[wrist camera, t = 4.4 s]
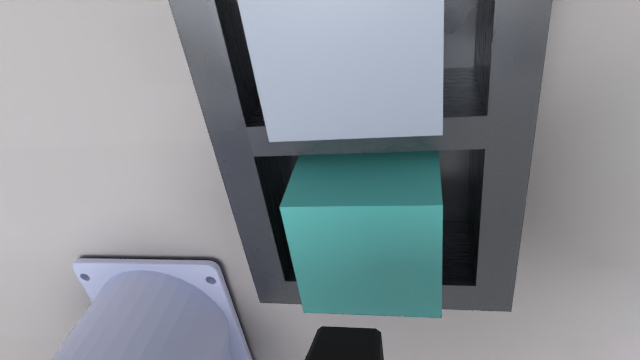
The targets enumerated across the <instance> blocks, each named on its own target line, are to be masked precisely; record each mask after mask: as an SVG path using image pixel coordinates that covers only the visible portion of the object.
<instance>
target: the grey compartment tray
mask: <svg viewBox="0 0 640 360" xmlns="http://www.w3.org/2000/svg"><path fill="white" fill-rule="evenodd" d="M168 1H169V4H170V7H171V10H172V14H173V17H174V20H175V24H176V27H177V30H178V34H179V37H180V40H181V43H182V47H183V50H184V53H185V57H186V60H187V63H188V67H189V70H190V73H191V76H192V80H193V83H194V86H195V90H196V93H197V96H198V100H199V103H200V106H201V109H202V113H203V116H204V119H205V123H206V126H207V129H208V133H209V136H210V139H211V142H212V146H213V149H214V152H215V156H216V159H217V162H218V165H219V169H220V172H221V175H222V179H223V182H224V185H225V189H226V192H227V195H228V198H229V202H230V205H231V208H232V212H233V215H234V218H235V222H236V225H237V228H238V231H239V235H240V238H241V241H242V245H243V248H244V251H245V255H246V258H247V261H248V264H249V268H250V271H251V274H252V278H253V281H254V284H255V287H256V291H257V294H258V297H259V301H260V303H282V304H302V302H301V298H300V293H299V289H298V285H297V281H296V276H295V272H294V268H293V263H292V259H291V255H290V250H289V246H288V242H287V237H286V233H285V229H284V224H283V220H282V216H281V211H280V204H281V202H282V199H283V196H284V193H285V191H286V188H287V185H288V183H289V180H290V177H291V175H292V172H293V169H294V167H295V164H296V161H297V159H298V156H299V155H319V154H350V153H380V152H410V151H438V152H439V164H440V177H441V189H442V201H443V239H442V309H453V310H481V311H509V312H511V309H512V302H513V294H514V287H515V279H516V271H517V264H518V256H519V249H520V241H521V234H522V226H523V218H524V211H525V203H526V196H527V188H528V180H529V173H530V165H531V158H532V150H533V143H534V135H535V127H536V120H537V112H538V105H539V97H540V89H541V82H542V74H543V67H544V59H545V52H546V44H547V36H548V29H549V21H550V14H551V6H552V0H444V57H443V135H435V136H410V137H384V138H359V139H334V140H309V141H283V142H269V139H268V134H267V130H266V126H265V121H264V117H263V112H262V108H261V103H260V99H259V95H258V90H257V86H256V81H255V77H254V72H253V68H252V63H251V59H250V55H249V50H248V46H247V41H246V37H245V32H244V28H243V23H242V19H241V15H240V10H239V6H238V1H237V0H168Z"/></svg>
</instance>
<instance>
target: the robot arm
mask: <svg viewBox="0 0 640 360" xmlns="http://www.w3.org/2000/svg"><path fill="white" fill-rule="evenodd" d="M72 268H73V270H74V272H75V274H76V275H77V277H78V279H79V280H80V282H81V284H82V286H83V287H84V289H85V291H86V292H87V294H88V296H89V297H90V299H91V301H92V303H91V304H90V305H89V307H88V308H87V310H86V311H85V312H84V314H83V315H82V317H81V318H80V319H79V321H78V322H77V324H76V325H75V327H74V328H73V329H72V331H71V332H70V334H69V335H68V336H67V338H66V339H65V341H64V342H63V343H62V345H61V346H60V348H59V349H58V350H57V352H56V353H55V355H54V356H53V358H52V359H51V360H252V357H251V354H250V351H249V349H248V346H247V343H246V340H245V337H244V334H243V331H242V329H241V326H240V323H239V320H238V317H237V314H236V312H235V309H234V306H233V303H232V300H231V297H230V294H229V292H228V289H227V286H226V283H225V280H224V277H223V275H222V272H221V269H220V267H219V265H218V264H217V263H215V262H213V261H209V260H154V259H91V258H80V259H77V260H76V261H75V262H74V263H73V265H72ZM212 277H213V278H212ZM305 360H384V357H383V347H382V338H381V332H380V331H378V330H377V329H372V328H348V327H324V326H322V327H320V328H319V329H318V330H317V333H316V335H315V338H314V340H313V343H312V345H311V347H310V349H309V352H308V354H307V356H306V358H305Z"/></svg>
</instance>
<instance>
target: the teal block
mask: <svg viewBox="0 0 640 360" xmlns="http://www.w3.org/2000/svg"><path fill="white" fill-rule="evenodd" d="M280 211H281V216H282V220H283V224H284V229H285V233H286V237H287V242H288V246H289V250H290V255H291V259H292V263H293V268H294V272H295V276H296V281H297V285H298V289H299V293H300V298H301V302H302V306H303V311H304V313H328V314H353V315H379V316H404V317H430V318H442V239H443V201H442V189H441V177H440V164H439V152H438V151H410V152H380V153H350V154H319V155H299V156H298V159H297V161H296V164H295V167H294V169H293V172H292V175H291V177H290V180H289V183H288V185H287V188H286V191H285V193H284V196H283V199H282V202H281V204H280Z"/></svg>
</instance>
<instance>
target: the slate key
mask: <svg viewBox="0 0 640 360" xmlns="http://www.w3.org/2000/svg"><path fill="white" fill-rule="evenodd" d="M237 1H238V6H239V10H240V15H241V19H242V23H243V28H244V32H245V37H246V41H247V46H248V50H249V55H250V59H251V63H252V68H253V72H254V77H255V81H256V86H257V90H258V95H259V99H260V103H261V108H262V112H263V117H264V121H265V126H266V130H267V134H268V139H269V142H283V141H309V140H334V139H359V138H384V137H410V136H435V135H443V57H444V0H237Z"/></svg>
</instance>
